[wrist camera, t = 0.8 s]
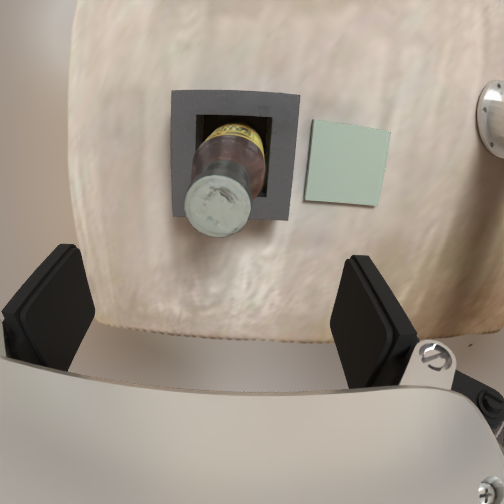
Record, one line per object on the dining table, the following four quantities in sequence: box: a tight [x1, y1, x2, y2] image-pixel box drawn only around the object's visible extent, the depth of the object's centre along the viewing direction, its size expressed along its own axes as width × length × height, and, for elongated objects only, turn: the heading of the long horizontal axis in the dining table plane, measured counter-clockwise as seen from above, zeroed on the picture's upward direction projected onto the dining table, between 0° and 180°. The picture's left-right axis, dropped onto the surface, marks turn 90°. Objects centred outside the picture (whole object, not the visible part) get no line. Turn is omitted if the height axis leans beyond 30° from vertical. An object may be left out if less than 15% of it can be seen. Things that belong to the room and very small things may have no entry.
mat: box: [304, 120, 391, 206], centre depth 36 cm, size 10×10×1 cm
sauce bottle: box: [184, 122, 265, 237], centre depth 26 cm, size 7×6×20 cm
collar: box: [171, 90, 300, 221], centre depth 32 cm, size 12×13×6 cm
